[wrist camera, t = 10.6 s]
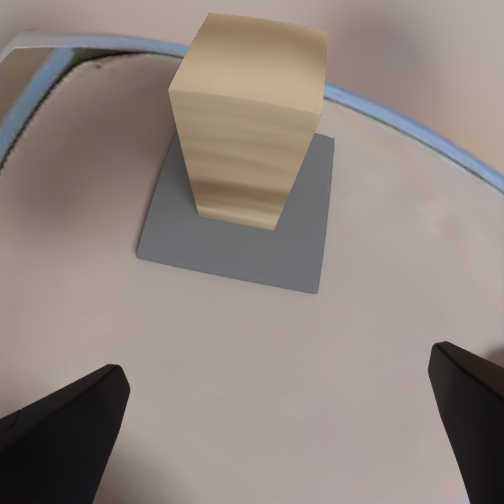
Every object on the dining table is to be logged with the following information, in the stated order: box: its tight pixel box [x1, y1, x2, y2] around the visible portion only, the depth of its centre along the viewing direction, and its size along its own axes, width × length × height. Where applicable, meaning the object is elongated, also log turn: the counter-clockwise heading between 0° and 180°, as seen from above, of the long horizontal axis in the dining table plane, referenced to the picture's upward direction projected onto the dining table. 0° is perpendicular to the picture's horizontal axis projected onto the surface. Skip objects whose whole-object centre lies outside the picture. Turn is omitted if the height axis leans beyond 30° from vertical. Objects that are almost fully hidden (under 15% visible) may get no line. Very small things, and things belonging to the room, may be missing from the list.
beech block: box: [168, 13, 327, 231], centre depth 15 cm, size 5×5×12 cm
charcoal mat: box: [136, 129, 334, 294], centre depth 22 cm, size 12×12×1 cm
